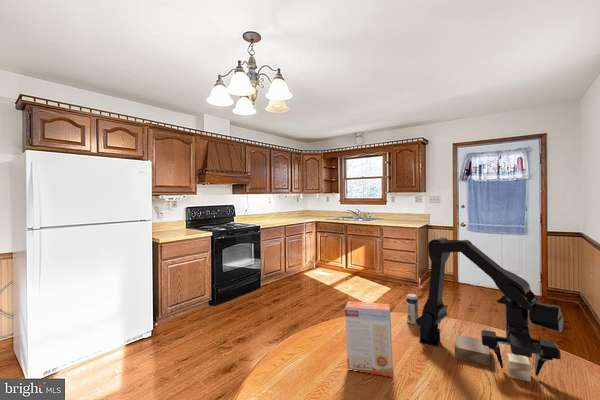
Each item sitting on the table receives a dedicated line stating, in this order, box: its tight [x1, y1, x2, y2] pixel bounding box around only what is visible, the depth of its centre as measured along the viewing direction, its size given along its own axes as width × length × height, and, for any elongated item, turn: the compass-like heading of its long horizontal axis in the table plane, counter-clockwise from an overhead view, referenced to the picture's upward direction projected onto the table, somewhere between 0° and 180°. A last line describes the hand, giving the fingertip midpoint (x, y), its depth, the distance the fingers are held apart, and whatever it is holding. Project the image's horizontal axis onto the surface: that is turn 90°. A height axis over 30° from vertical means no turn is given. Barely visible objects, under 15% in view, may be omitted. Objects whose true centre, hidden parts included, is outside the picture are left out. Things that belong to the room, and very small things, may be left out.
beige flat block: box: [454, 334, 491, 366], centre depth 99 cm, size 10×10×4 cm
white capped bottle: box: [405, 293, 420, 325], centre depth 126 cm, size 5×5×12 cm
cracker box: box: [344, 300, 394, 378], centre depth 93 cm, size 14×6×21 cm, turn 71°
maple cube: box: [506, 352, 532, 383], centre depth 87 cm, size 5×5×5 cm
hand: (518, 371), depth 87 cm, fingers open, 8 cm apart
